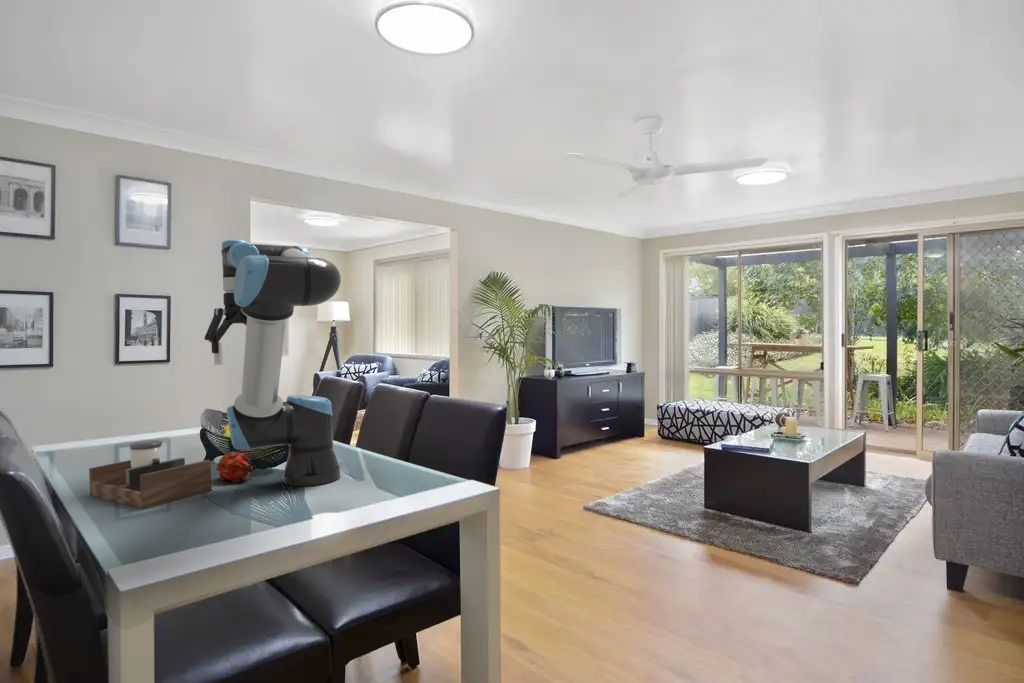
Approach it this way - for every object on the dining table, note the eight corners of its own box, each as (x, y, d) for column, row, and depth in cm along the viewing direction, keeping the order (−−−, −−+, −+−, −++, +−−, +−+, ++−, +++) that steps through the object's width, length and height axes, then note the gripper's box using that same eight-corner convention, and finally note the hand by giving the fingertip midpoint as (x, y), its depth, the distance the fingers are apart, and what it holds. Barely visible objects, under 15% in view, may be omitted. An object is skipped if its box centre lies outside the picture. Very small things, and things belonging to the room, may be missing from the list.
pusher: (185, 483, 158) (184, 453, 157) (130, 497, 146) (128, 465, 145) (182, 482, 158) (180, 453, 158) (126, 496, 146) (125, 464, 146)
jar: (169, 486, 156) (168, 441, 155) (141, 493, 149) (139, 446, 149) (154, 483, 159) (152, 439, 159) (125, 490, 153) (123, 444, 152)
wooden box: (211, 490, 155) (210, 460, 154) (144, 509, 140) (142, 475, 140) (157, 479, 167) (156, 451, 167) (90, 495, 152) (88, 464, 152)
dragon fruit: (225, 481, 170) (249, 493, 163) (202, 469, 164) (225, 482, 157) (243, 454, 173) (266, 465, 166) (221, 442, 167) (244, 453, 160)
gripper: (264, 294, 190) (266, 359, 191) (189, 291, 169) (192, 365, 169) (280, 293, 186) (282, 360, 187) (205, 290, 165) (208, 366, 166)
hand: (239, 363), depth 178 cm, fingers open, 13 cm apart
